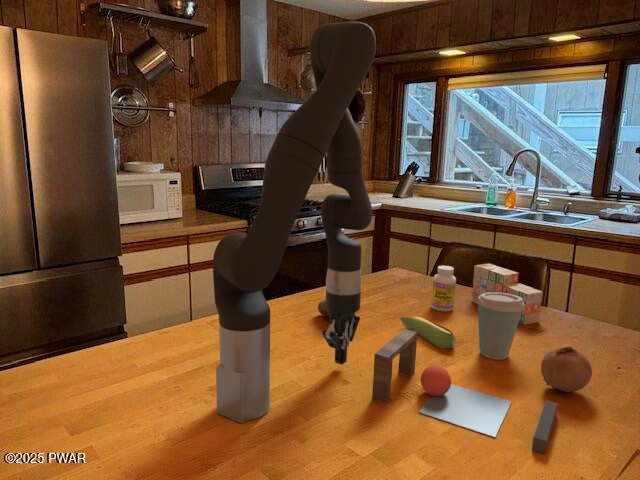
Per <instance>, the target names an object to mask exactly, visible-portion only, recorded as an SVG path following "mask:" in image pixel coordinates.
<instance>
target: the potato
mask: <svg viewBox="0 0 640 480" xmlns="http://www.w3.org/2000/svg"><path fill="white" fill-rule="evenodd" d="M325 303H326V299H324V300H322V301H320V302H318V305H317V309H318V312H319V313H320V314H321V315H322V316H325V317H326V318H328V319H330V315H331V314H330V312H329V311H328V310H327V309H326V306H325Z"/></svg>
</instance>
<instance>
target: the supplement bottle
mask: <svg viewBox="0 0 640 480" xmlns="http://www.w3.org/2000/svg"><path fill="white" fill-rule="evenodd" d="M454 272H455V269H454V267H453V266H449V265H438V266H437V273H436V274H435V275H434V276H433V281H432V289H431V290H432V292H431V304H430V306H431V308H432V309H433V310H436V311H437V312H438V311H439V312H451V311H452V310H454V306H455V298H456V297H455V295H456V288H457V278H456V276H455V275H454Z"/></svg>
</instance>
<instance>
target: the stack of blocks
mask: <svg viewBox="0 0 640 480" xmlns="http://www.w3.org/2000/svg"><path fill="white" fill-rule="evenodd" d="M519 276H520V272H517V271H514V270H511V269H508V268H504V267H500V266H498V265H495V264H493V263H482V264H476V265H474V269H473V280H472V293H471V302H472V303H475V304H477V305H478V303H477V301H478V298H479V296H480V295H481V294H483V293H487V292H499V293H507V294H512V295H516V296H519V297H521V298H523V300H522V302H524V310H523V311H522V313H521V316H520V319H519V323H518V324H520V325H522V326H525V325H530V324H535V323H539V321H540V315H541V314H540V313H541V309H542V307H541V306H542V301H543V295H544V294H543V293H544V292H543V291H542V290H539V289H536V288H534V287H531V286H528V285H525V284H522V283H519V278H520V277H519Z"/></svg>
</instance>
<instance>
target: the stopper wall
mask: <svg viewBox="0 0 640 480" xmlns="http://www.w3.org/2000/svg"><path fill="white" fill-rule="evenodd" d="M557 408H558V403H557V402H554V401H550V400H545V402H544V405H543V409H542V411H541V414H540V416H539V420H538V423H537V426H536V429H535V432H534V434H533V438H532V439H533V440H532V446H531V451H533V452H536V453H539V454H542V455H546V451H547V447H548V444H549V442H550V441H549V440H550V436H551V432H552V431H553V427H554V423H555V420H556V416H557V410H558V409H557Z"/></svg>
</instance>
